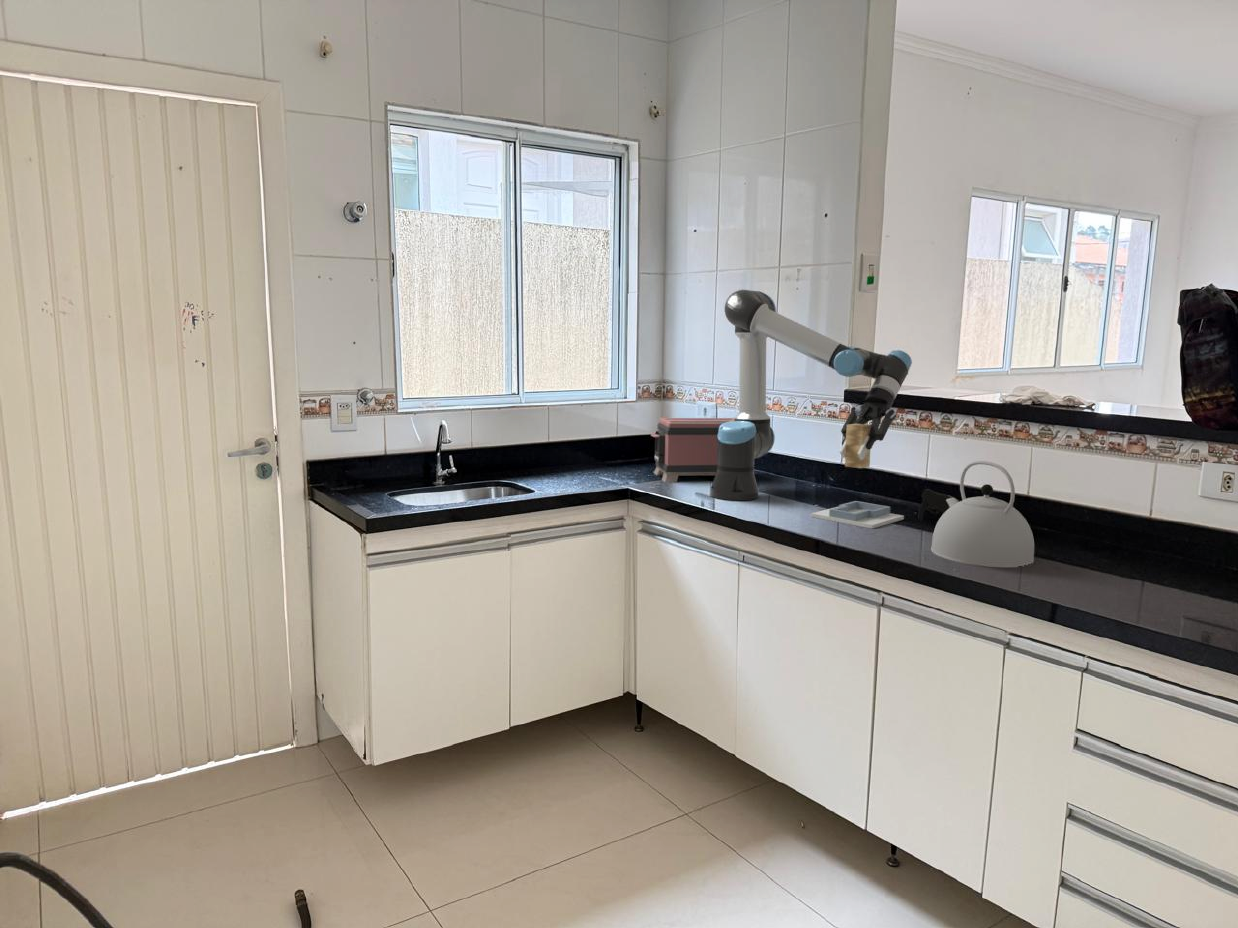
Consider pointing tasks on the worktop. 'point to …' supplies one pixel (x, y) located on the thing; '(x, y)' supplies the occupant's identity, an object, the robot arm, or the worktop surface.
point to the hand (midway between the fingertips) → (851, 455)
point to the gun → (933, 502)
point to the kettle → (984, 529)
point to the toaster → (687, 446)
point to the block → (856, 445)
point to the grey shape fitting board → (859, 514)
